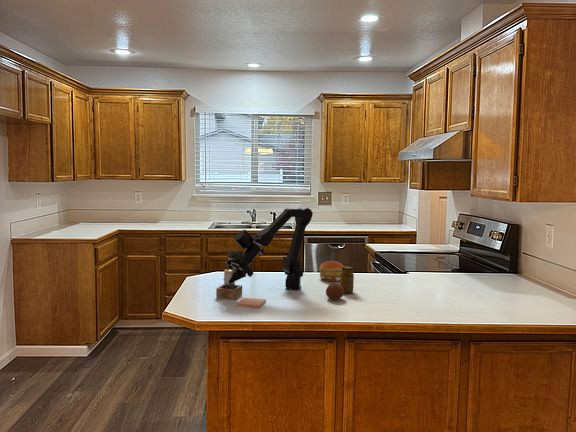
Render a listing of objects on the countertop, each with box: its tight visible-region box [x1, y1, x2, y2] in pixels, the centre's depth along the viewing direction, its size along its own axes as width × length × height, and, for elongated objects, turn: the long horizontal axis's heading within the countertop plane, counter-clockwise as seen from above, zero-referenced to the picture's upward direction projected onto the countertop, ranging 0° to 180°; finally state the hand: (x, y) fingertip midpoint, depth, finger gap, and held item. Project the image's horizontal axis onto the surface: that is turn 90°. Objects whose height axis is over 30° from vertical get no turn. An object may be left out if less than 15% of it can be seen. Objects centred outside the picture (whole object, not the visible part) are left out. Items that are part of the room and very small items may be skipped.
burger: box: [319, 260, 345, 282], centre depth 274 cm, size 14×14×10 cm
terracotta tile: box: [235, 297, 267, 309], centre depth 224 cm, size 10×10×1 cm
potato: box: [325, 282, 345, 300], centre depth 235 cm, size 8×11×8 cm
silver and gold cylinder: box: [223, 268, 236, 289], centre depth 235 cm, size 5×5×9 cm
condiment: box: [339, 265, 358, 296], centre depth 246 cm, size 7×8×12 cm
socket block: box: [215, 283, 243, 301], centre depth 236 cm, size 9×9×4 cm
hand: (226, 281), depth 234 cm, fingers closed on silver and gold cylinder, 5 cm apart
